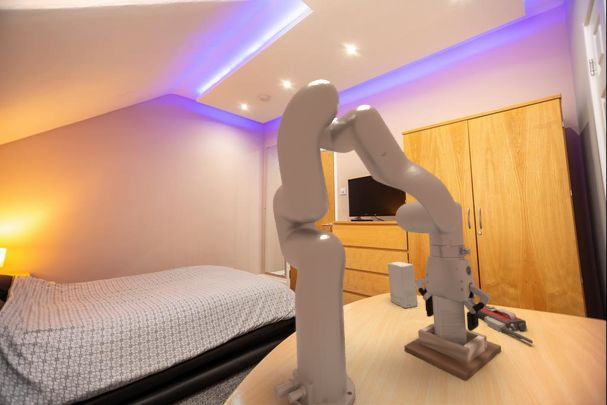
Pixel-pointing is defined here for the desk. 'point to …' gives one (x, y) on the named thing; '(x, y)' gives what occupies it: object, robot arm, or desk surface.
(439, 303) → the skincare box
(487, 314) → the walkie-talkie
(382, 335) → the desk surface
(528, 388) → the desk surface
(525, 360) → the desk surface
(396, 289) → the skincare box
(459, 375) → the socket board
